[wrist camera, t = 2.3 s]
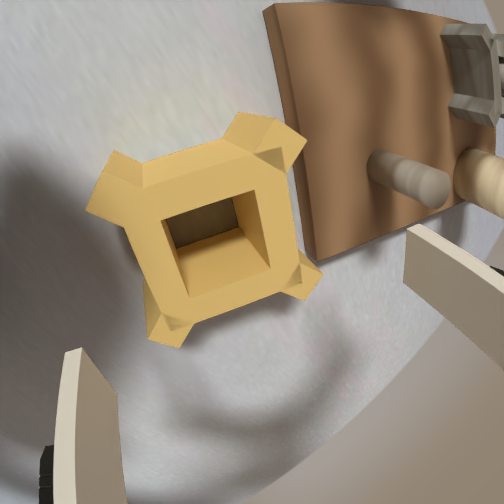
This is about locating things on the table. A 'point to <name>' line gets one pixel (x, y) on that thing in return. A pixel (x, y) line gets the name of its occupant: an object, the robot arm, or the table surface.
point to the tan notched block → (221, 245)
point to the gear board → (386, 116)
